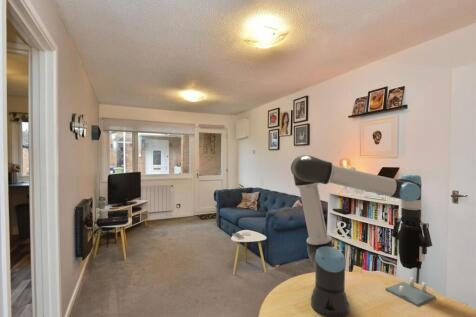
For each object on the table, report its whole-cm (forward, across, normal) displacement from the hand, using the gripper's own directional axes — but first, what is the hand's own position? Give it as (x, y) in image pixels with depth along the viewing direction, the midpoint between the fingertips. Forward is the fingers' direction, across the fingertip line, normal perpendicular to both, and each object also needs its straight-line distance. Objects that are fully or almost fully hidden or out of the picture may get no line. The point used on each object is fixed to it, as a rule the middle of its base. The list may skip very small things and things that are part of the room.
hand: (410, 256), depth 115 cm
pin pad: (+17, 0, 0) cm, 17 cm away
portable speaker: (+5, 0, 0) cm, 5 cm away
